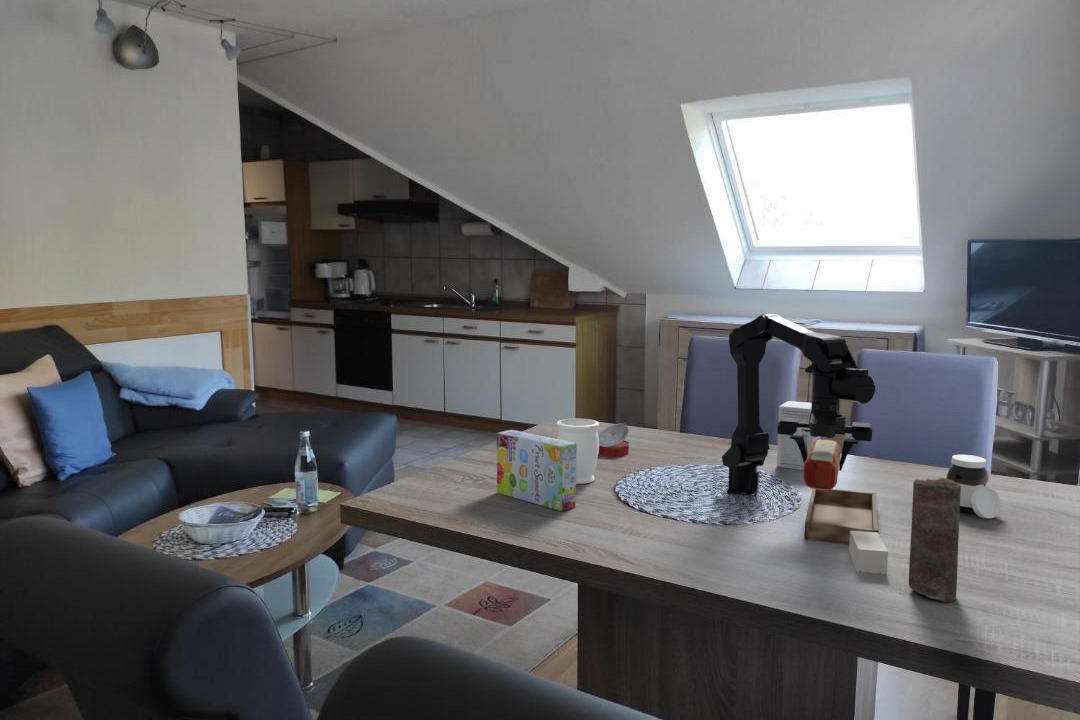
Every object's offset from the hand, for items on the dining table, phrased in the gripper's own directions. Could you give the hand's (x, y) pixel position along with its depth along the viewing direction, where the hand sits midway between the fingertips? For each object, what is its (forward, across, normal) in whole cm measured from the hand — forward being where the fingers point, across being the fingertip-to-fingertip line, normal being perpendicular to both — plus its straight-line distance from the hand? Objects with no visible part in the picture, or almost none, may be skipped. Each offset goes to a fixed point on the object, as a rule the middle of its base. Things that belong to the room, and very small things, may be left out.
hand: (823, 468), depth 173 cm
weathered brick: (+12, +20, -31) cm, 39 cm away
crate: (+12, +4, +2) cm, 13 cm away
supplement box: (+12, -9, +46) cm, 49 cm away
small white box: (+12, +10, -20) cm, 25 cm away
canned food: (+11, -60, +40) cm, 73 cm away
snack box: (+12, -63, -10) cm, 64 cm away
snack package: (+2, 0, 0) cm, 2 cm away
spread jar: (+12, +30, +21) cm, 39 cm away
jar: (+11, -59, +10) cm, 61 cm away
